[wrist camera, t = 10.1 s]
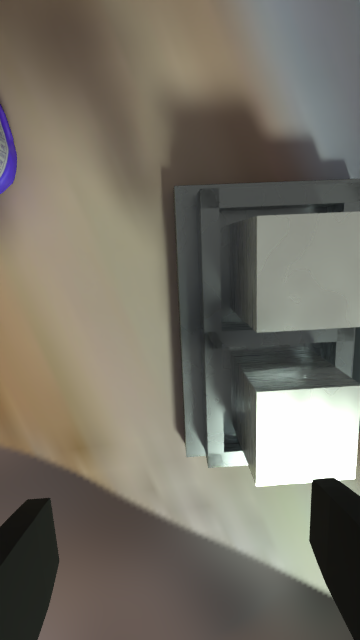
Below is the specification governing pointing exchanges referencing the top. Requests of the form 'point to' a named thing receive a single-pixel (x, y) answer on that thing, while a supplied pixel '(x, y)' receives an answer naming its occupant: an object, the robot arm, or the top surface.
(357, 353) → the box
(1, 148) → the bottle
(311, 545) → the robot arm
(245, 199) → the grey divided tray
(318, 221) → the block
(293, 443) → the block
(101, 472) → the top surface
